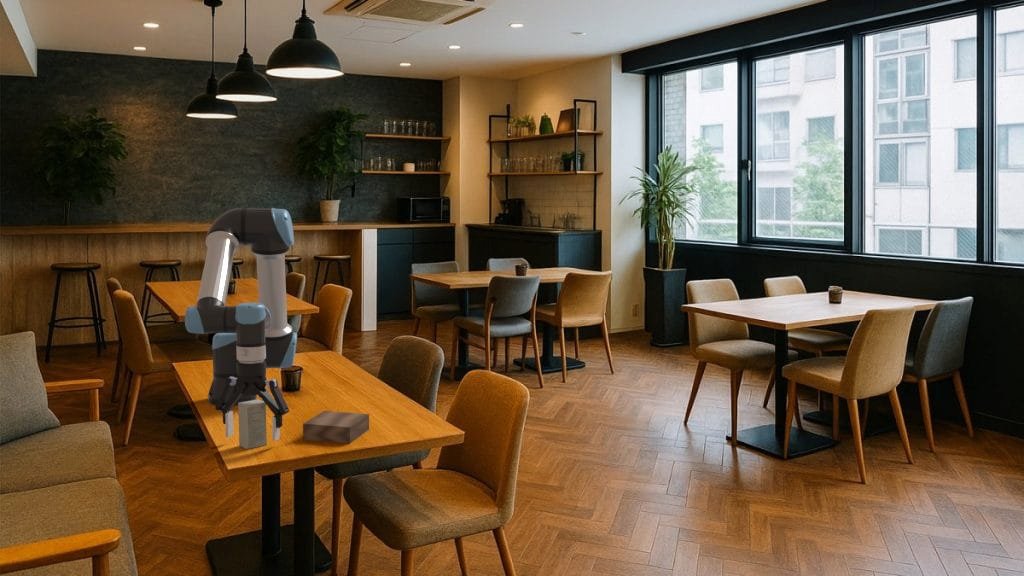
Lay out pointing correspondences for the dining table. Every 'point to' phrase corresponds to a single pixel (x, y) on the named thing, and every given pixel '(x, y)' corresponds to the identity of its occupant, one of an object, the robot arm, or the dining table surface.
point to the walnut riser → (336, 427)
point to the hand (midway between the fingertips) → (252, 437)
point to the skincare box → (252, 423)
